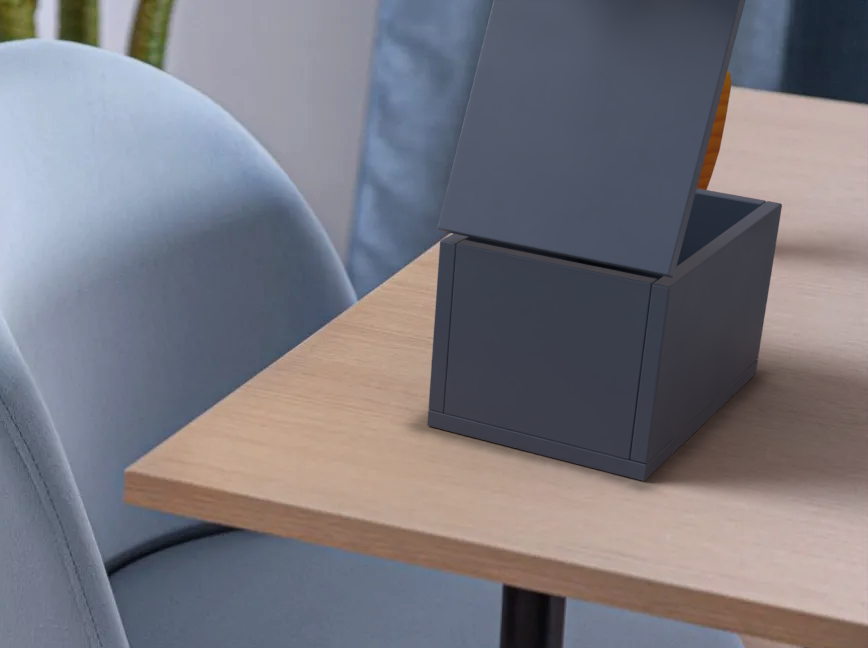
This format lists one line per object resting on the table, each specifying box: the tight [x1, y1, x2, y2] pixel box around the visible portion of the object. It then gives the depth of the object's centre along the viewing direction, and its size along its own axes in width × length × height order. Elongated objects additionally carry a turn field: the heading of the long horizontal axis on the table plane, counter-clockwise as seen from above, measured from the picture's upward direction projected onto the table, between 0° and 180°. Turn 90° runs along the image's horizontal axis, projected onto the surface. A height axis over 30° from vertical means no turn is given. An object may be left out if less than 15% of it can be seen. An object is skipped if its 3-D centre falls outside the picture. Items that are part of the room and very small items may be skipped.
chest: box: [426, 188, 783, 482], centre depth 83 cm, size 16×11×9 cm
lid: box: [437, 0, 746, 278], centre depth 72 cm, size 16×11×5 cm
